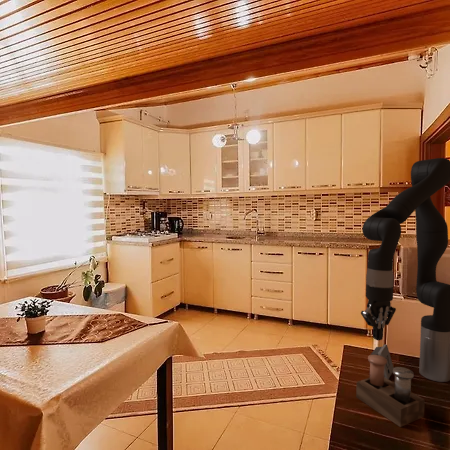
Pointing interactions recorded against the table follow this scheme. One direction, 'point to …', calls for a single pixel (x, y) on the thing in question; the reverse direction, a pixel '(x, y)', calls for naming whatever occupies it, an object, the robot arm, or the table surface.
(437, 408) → the table surface
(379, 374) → the terracotta plug
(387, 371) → the electrical switch
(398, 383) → the grey plug
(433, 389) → the table surface
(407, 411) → the socket board
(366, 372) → the table surface
